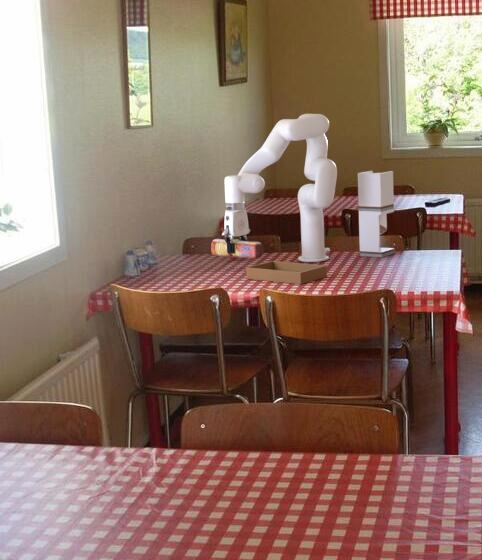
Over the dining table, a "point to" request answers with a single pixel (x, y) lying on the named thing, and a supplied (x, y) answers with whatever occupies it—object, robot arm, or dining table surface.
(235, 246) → the snack package
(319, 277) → the brown cardboard tray
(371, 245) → the coffee grinder
